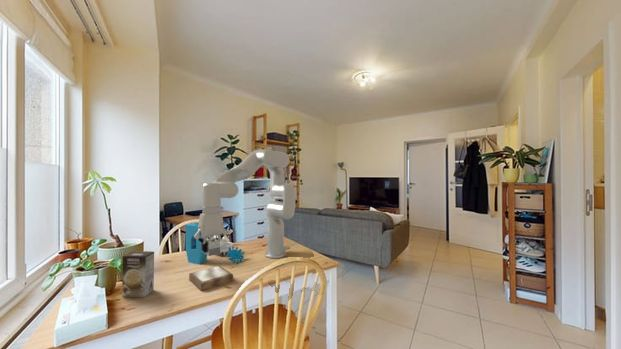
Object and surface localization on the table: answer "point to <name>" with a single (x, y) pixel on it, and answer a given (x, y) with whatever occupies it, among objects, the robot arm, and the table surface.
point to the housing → (212, 246)
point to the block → (194, 245)
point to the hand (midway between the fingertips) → (211, 250)
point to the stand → (210, 278)
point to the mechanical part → (225, 244)
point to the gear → (235, 254)
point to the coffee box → (138, 274)
